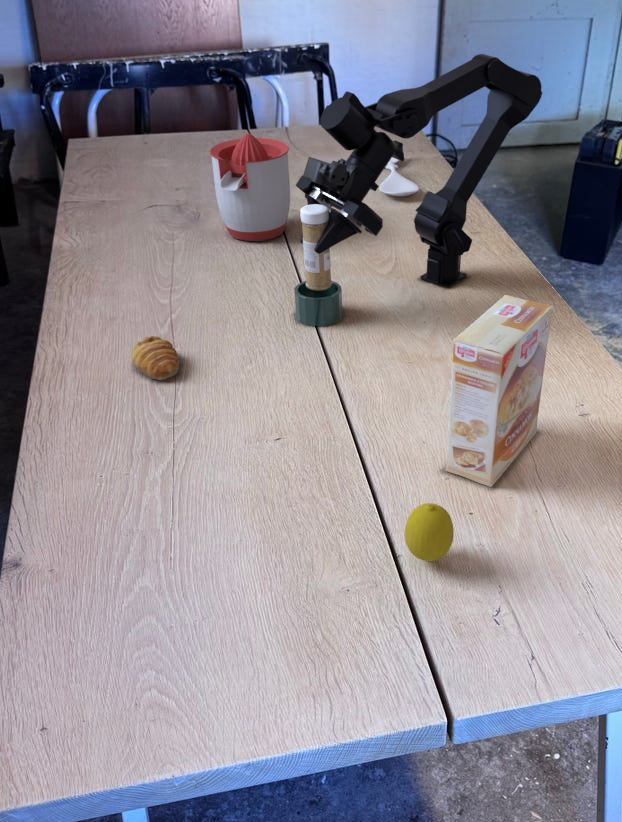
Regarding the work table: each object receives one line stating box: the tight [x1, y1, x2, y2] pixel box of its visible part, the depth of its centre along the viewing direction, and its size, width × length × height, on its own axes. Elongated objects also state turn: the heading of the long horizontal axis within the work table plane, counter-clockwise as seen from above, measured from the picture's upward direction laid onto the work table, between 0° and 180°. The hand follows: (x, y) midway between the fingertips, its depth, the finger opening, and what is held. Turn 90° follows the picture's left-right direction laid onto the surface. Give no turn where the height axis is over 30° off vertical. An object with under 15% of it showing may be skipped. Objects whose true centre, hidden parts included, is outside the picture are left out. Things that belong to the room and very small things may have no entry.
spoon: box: [378, 157, 420, 197], centre depth 208 cm, size 9×32×4 cm, turn 7°
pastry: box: [131, 335, 180, 381], centre depth 137 cm, size 9×7×4 cm
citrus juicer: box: [209, 132, 291, 242], centre depth 177 cm, size 16×17×20 cm
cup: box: [293, 280, 343, 327], centre depth 151 cm, size 8×8×5 cm
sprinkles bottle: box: [299, 204, 333, 291], centre depth 145 cm, size 5×5×13 cm
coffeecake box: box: [445, 294, 554, 488], centre depth 113 cm, size 15×7×20 cm, turn 148°
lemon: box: [404, 502, 455, 562], centre depth 99 cm, size 6×6×8 cm
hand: (309, 247), depth 144 cm, fingers closed on sprinkles bottle, 4 cm apart
